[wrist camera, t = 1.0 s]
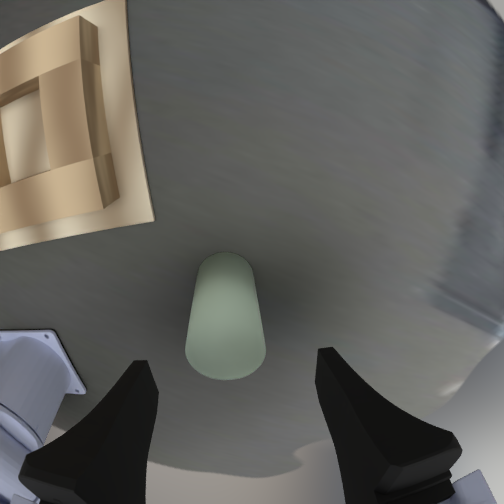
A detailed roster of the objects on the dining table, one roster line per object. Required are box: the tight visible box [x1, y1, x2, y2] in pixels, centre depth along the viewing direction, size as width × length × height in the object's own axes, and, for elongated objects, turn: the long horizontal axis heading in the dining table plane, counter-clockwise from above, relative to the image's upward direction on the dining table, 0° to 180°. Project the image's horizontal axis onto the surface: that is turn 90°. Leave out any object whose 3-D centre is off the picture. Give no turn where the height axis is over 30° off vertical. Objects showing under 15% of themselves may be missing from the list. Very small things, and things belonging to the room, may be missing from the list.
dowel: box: [185, 252, 266, 380], centre depth 19 cm, size 4×4×8 cm
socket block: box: [0, 0, 155, 251], centre depth 15 cm, size 16×16×3 cm
